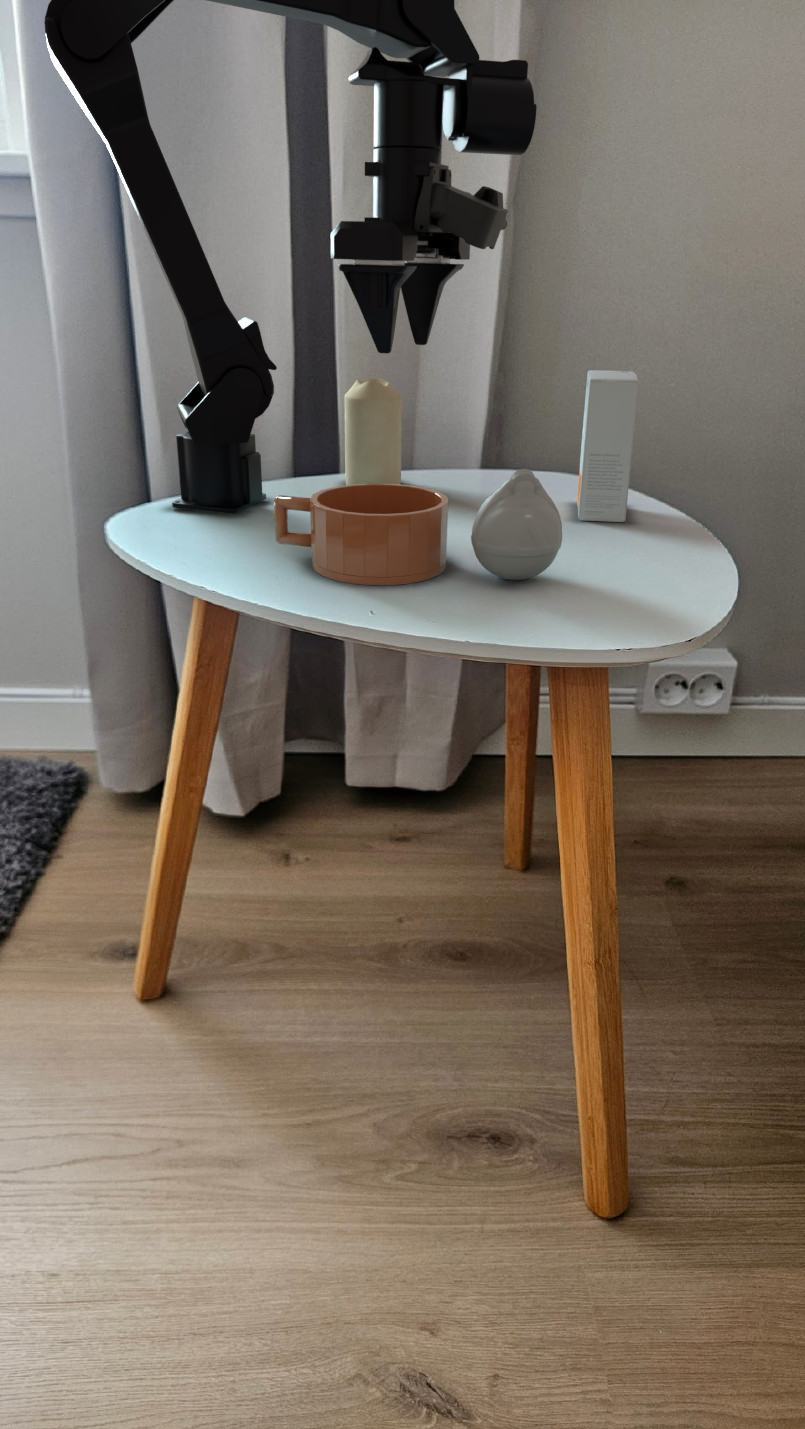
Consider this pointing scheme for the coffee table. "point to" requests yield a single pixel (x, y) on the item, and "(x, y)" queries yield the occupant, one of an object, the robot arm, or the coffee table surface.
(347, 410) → the candle
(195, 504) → the robot arm
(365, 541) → the coffee cup
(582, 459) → the cosmetic box
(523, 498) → the grey teardrop shape
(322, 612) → the coffee table surface
